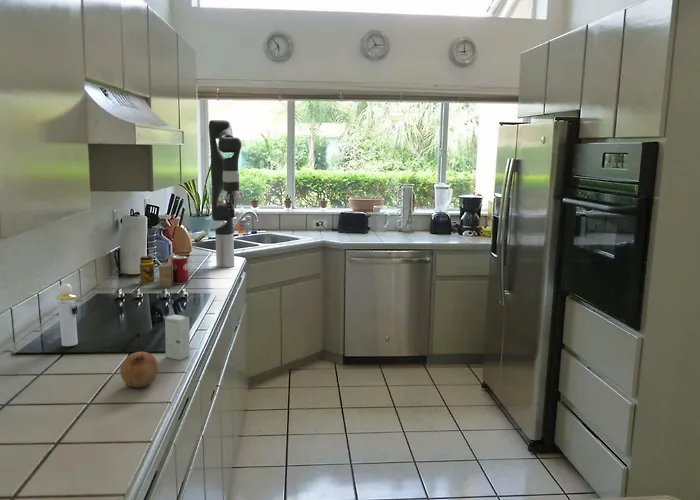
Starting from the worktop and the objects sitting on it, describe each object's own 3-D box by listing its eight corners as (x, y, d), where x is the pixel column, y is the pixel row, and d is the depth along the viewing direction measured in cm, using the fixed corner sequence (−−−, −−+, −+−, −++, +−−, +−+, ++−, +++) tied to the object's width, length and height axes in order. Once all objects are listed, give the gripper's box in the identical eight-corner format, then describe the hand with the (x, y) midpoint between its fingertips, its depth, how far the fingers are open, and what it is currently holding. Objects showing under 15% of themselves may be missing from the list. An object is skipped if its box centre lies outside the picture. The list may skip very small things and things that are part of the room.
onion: (144, 401, 155) (142, 374, 149) (113, 387, 157) (110, 360, 151) (166, 376, 162) (165, 350, 157) (136, 364, 164) (134, 337, 159)
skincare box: (165, 357, 179) (163, 317, 177) (176, 352, 183) (174, 313, 181) (180, 360, 176) (178, 320, 174) (191, 356, 180) (189, 316, 178)
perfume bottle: (57, 349, 185) (52, 286, 182) (62, 343, 191) (57, 281, 187) (77, 348, 186) (72, 285, 183) (81, 342, 192) (77, 281, 189)
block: (161, 284, 275) (160, 265, 274) (172, 284, 276) (171, 264, 275) (160, 286, 270) (159, 267, 269) (171, 286, 271) (170, 266, 270)
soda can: (172, 284, 274) (170, 258, 272) (173, 281, 281) (171, 256, 279) (188, 284, 276) (187, 258, 274) (189, 280, 283) (188, 255, 281)
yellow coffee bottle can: (151, 284, 276) (150, 258, 274) (133, 283, 277) (132, 258, 275) (158, 280, 283) (156, 255, 281) (140, 280, 284) (139, 255, 282)
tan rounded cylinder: (171, 277, 290) (170, 254, 288) (183, 277, 290) (182, 254, 288) (167, 280, 285) (166, 256, 283) (179, 280, 284) (177, 256, 282)
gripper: (226, 180, 289) (228, 216, 292) (219, 181, 276) (220, 219, 279) (242, 180, 289) (243, 216, 292) (235, 181, 276) (236, 219, 279)
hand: (232, 217), depth 285 cm, fingers closed
